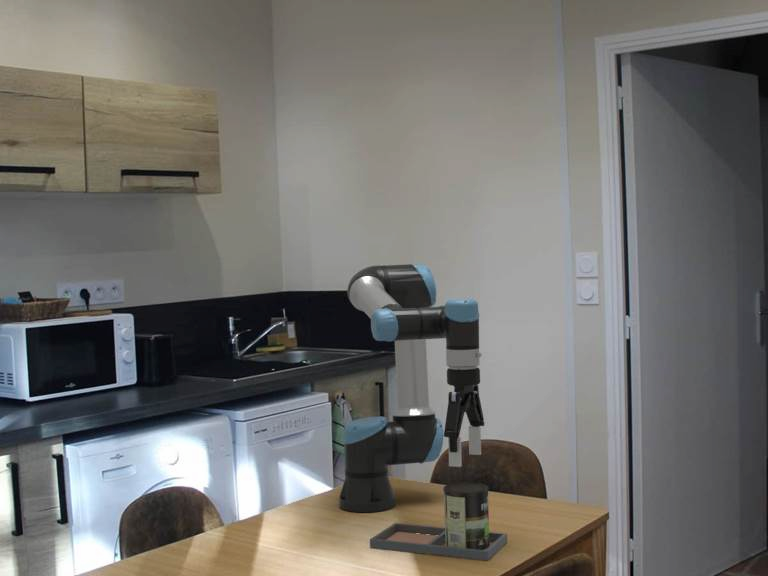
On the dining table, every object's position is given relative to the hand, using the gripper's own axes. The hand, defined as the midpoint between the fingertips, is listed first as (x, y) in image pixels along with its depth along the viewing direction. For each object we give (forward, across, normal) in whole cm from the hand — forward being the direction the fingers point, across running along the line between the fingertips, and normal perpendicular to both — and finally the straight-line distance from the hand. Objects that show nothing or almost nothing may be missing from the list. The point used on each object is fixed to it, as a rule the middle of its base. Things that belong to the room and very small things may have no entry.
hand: (465, 460), depth 224 cm
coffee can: (+20, 0, 0) cm, 21 cm away
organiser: (+20, 0, +7) cm, 21 cm away
